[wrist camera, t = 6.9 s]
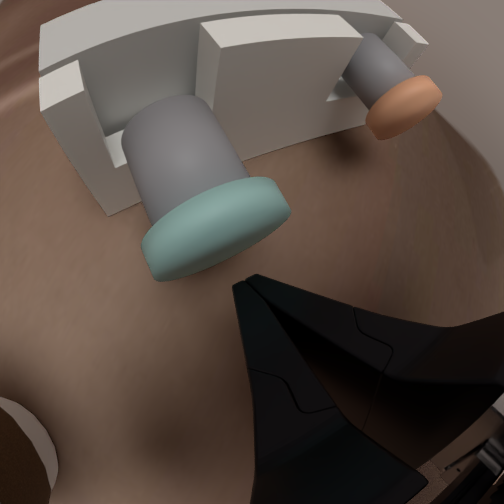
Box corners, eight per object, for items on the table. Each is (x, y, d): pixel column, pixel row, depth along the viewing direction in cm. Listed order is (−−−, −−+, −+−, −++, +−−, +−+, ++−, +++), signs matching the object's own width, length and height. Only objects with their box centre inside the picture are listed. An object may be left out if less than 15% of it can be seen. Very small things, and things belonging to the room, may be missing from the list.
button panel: (364, 124, 21) (429, 44, 12) (108, 216, 16) (40, 111, 7) (318, 66, 22) (359, -15, 13) (83, 132, 17) (40, 25, 8)
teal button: (270, 238, 12) (313, 187, 8) (163, 289, 11) (140, 262, 7) (219, 144, 13) (232, 67, 9) (120, 183, 12) (90, 113, 7)
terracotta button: (410, 132, 16) (454, 89, 11) (361, 147, 15) (409, 92, 10) (366, 76, 17) (398, 28, 12) (313, 82, 15) (343, 23, 11)
